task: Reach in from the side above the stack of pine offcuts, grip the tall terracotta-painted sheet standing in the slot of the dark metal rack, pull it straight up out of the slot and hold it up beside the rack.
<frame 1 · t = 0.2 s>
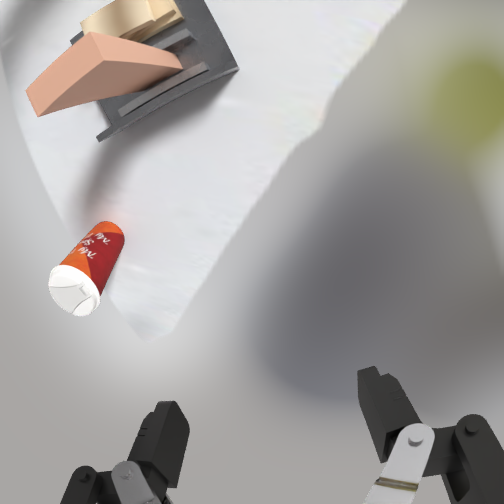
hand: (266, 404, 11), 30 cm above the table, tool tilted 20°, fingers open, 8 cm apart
tall sheet: (158, 72, 27), point 1 cm above the table, touching rack
paper cup: (109, 236, 41), on the table
offcut stack: (134, 26, 23), point 1 cm above the table, touching rack
rack: (148, 47, 26), on the table
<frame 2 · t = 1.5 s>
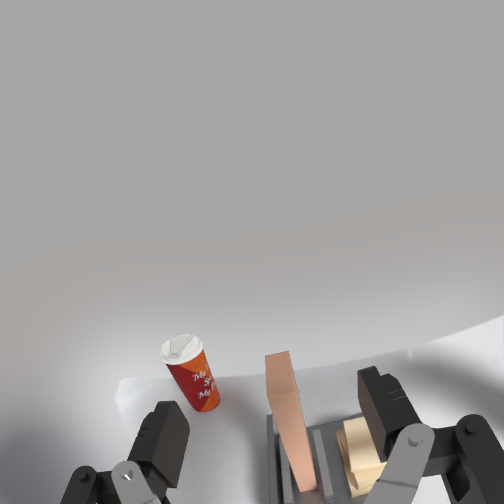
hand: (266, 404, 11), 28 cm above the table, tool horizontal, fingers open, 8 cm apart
tall sheet: (306, 474, 28), point 1 cm above the table, touching rack
paper cup: (206, 402, 48), on the table
offcut stack: (362, 460, 27), point 1 cm above the table, touching rack
rack: (337, 471, 28), on the table
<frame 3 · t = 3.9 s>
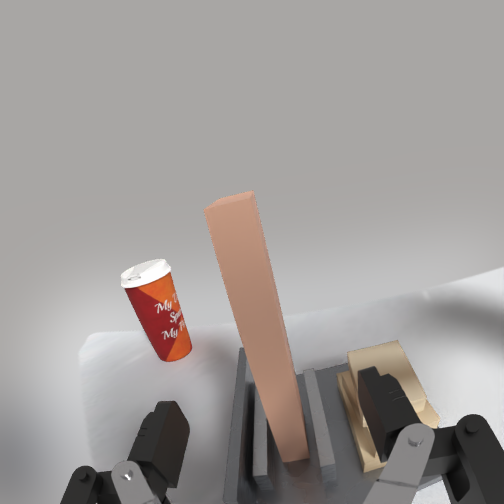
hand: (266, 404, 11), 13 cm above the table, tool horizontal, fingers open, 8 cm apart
tall sheet: (294, 436, 21), point 1 cm above the table, touching rack
paper cup: (176, 352, 41), on the table
offcut stack: (377, 415, 20), point 1 cm above the table, touching rack
rack: (339, 433, 21), on the table
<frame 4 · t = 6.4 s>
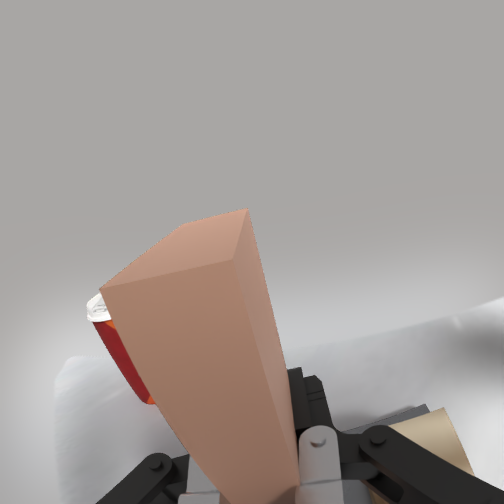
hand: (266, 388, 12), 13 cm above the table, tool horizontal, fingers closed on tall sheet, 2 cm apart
paper cup: (159, 391, 32), on the table
offcut stack: (409, 497, 11), point 1 cm above the table, touching rack
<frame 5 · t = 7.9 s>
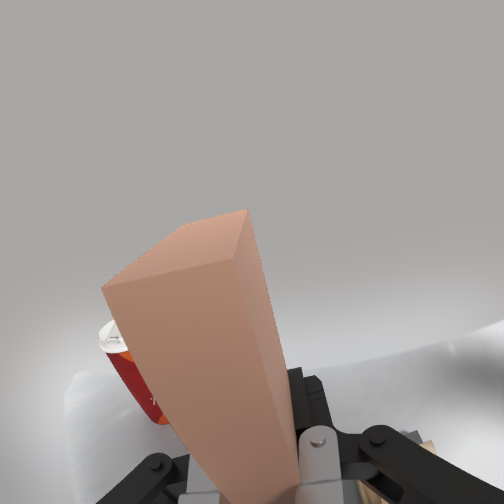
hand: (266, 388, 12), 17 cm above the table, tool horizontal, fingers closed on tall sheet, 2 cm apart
paper cup: (168, 411, 33), on the table
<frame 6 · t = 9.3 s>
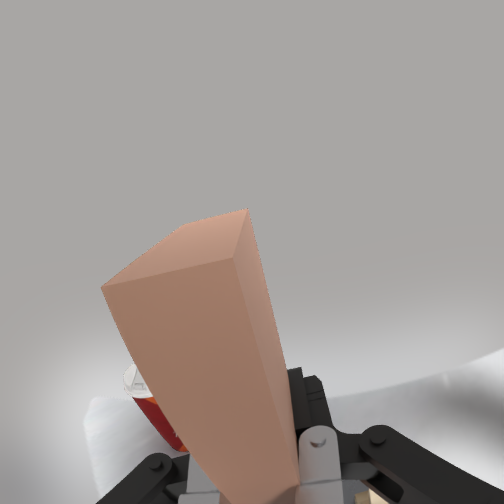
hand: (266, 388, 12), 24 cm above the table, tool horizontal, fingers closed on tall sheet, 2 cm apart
paper cup: (187, 438, 35), on the table
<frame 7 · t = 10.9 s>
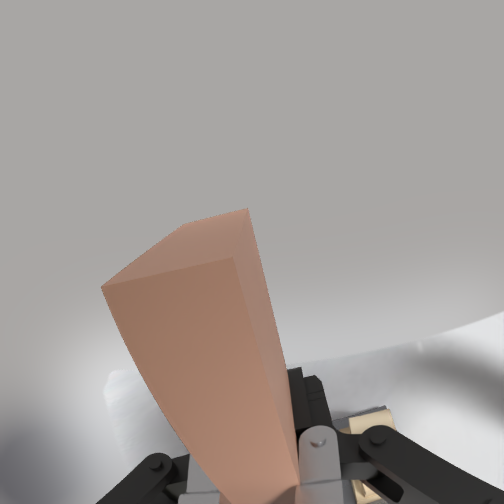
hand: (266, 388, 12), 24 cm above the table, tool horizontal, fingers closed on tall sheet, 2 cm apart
offcut stack: (369, 463, 24), point 1 cm above the table, touching rack
rack: (340, 475, 24), on the table
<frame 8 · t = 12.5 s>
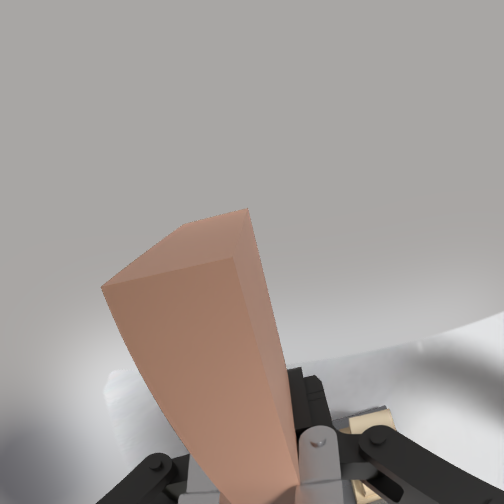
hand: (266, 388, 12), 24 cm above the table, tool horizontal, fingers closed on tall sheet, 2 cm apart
offcut stack: (369, 462, 24), point 1 cm above the table, touching rack
rack: (340, 475, 24), on the table
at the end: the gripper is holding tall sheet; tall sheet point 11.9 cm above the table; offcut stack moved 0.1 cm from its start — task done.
